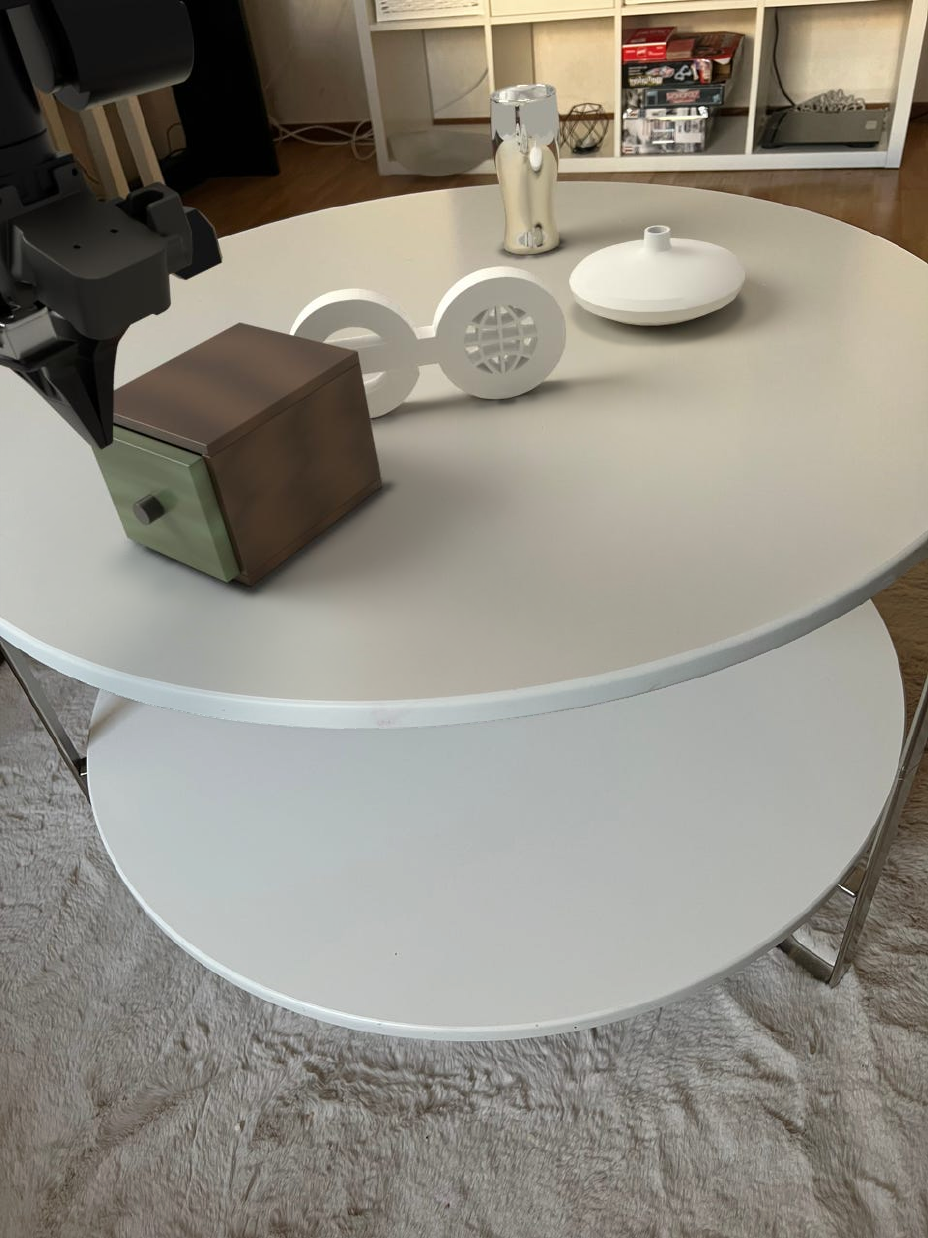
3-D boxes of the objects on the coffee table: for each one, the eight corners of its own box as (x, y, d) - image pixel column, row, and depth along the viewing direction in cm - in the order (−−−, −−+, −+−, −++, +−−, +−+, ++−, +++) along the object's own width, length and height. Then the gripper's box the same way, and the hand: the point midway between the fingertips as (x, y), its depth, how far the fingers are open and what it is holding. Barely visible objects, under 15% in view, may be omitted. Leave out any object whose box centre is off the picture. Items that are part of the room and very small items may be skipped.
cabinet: (250, 586, 64) (206, 445, 57) (139, 537, 70) (87, 404, 63) (383, 485, 72) (358, 350, 65) (272, 448, 78) (239, 321, 71)
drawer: (213, 593, 62) (173, 476, 57) (113, 547, 68) (67, 435, 62) (354, 488, 70) (331, 376, 65) (254, 454, 76) (224, 347, 70)
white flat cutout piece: (562, 376, 82) (558, 257, 76) (568, 388, 80) (563, 267, 74) (303, 416, 81) (275, 299, 75) (302, 428, 80) (274, 310, 73)
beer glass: (543, 228, 110) (536, 79, 100) (575, 245, 105) (571, 90, 95) (488, 243, 108) (475, 93, 98) (518, 261, 103) (508, 105, 93)
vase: (620, 265, 99) (620, 192, 95) (770, 287, 91) (778, 209, 87) (538, 327, 90) (533, 250, 85) (697, 357, 82) (701, 274, 78)
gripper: (-125, 232, 34) (45, 583, 44) (256, 93, 45) (323, 401, 55) (-261, 199, 40) (-83, 517, 50) (107, 83, 50) (192, 364, 60)
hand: (102, 445), depth 54 cm, fingers closed
